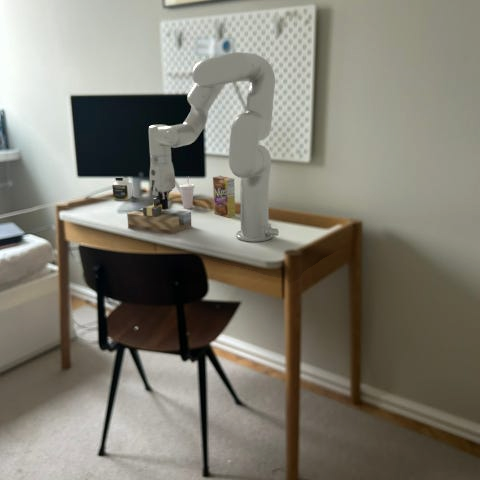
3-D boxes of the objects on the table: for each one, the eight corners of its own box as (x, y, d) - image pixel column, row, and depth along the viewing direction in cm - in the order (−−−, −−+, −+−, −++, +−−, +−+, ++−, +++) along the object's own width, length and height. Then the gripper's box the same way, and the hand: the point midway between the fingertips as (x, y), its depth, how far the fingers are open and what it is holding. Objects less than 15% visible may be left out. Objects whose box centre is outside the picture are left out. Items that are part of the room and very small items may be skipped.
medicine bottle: (113, 199, 236) (111, 173, 233) (119, 196, 243) (117, 170, 239) (128, 200, 235) (126, 173, 231) (133, 196, 242) (131, 171, 238)
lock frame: (191, 226, 192) (190, 203, 190) (173, 234, 182) (172, 211, 180) (147, 220, 201) (146, 198, 199) (128, 227, 191) (126, 205, 188)
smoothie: (192, 209, 217) (191, 176, 212) (178, 209, 218) (176, 176, 214) (197, 206, 223) (195, 173, 218) (182, 205, 224) (181, 173, 220)
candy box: (213, 213, 210) (212, 176, 205) (221, 212, 213) (220, 175, 208) (227, 217, 204) (226, 179, 199) (235, 216, 206) (235, 178, 202)
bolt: (162, 212, 190) (161, 197, 188) (152, 216, 185) (151, 201, 183) (156, 211, 191) (155, 197, 189) (146, 215, 186) (146, 200, 184)
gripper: (156, 163, 179) (159, 214, 184) (181, 157, 191) (183, 205, 197) (139, 162, 182) (142, 212, 188) (164, 156, 195) (166, 203, 200)
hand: (163, 208), depth 192 cm, fingers closed
